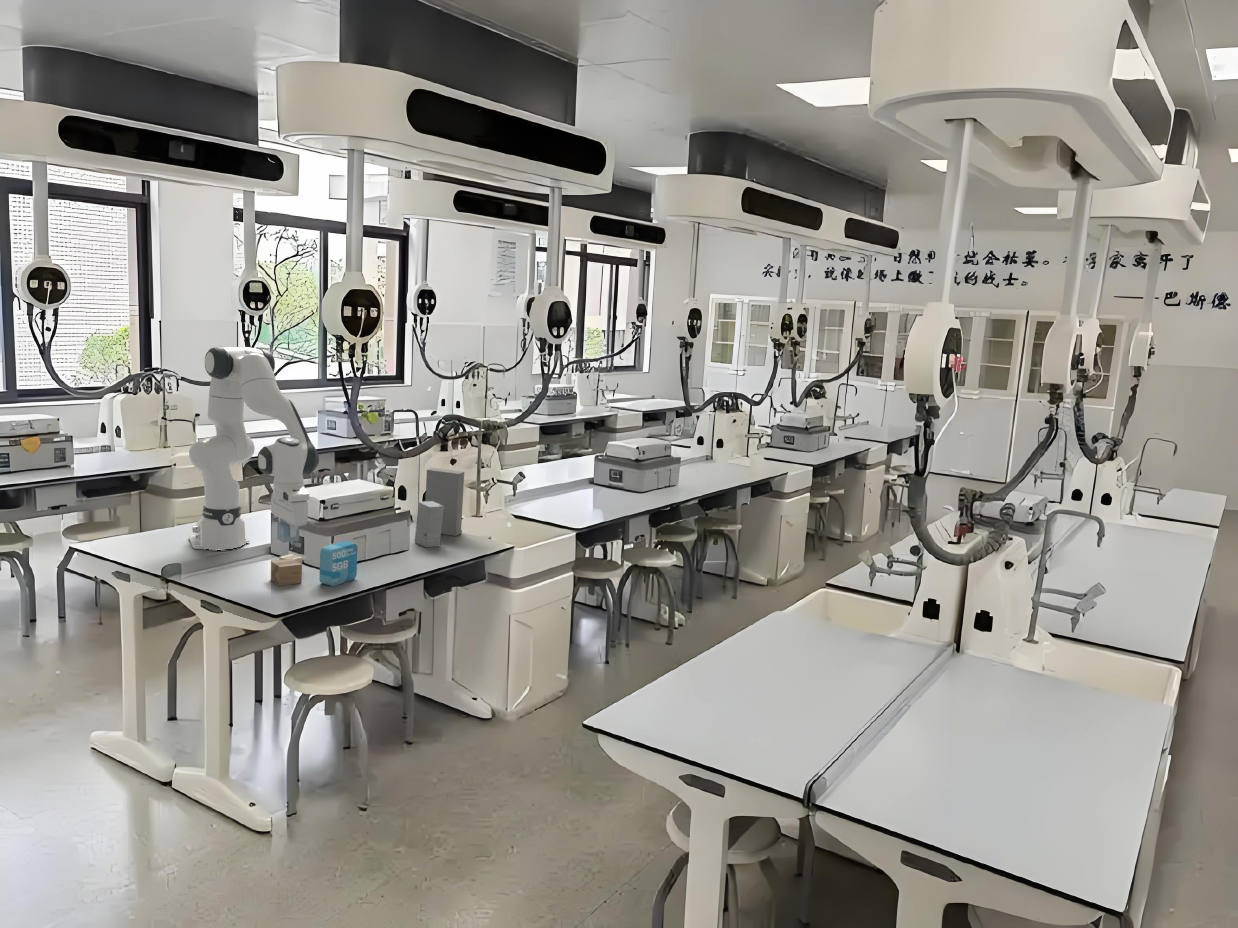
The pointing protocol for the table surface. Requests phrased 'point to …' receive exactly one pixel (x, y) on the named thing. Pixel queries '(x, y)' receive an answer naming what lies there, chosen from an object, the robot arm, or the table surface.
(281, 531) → the slate-blue block
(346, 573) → the data package
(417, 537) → the skincare box
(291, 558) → the sand block
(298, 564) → the cardboard box
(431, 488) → the tall grey upright box
